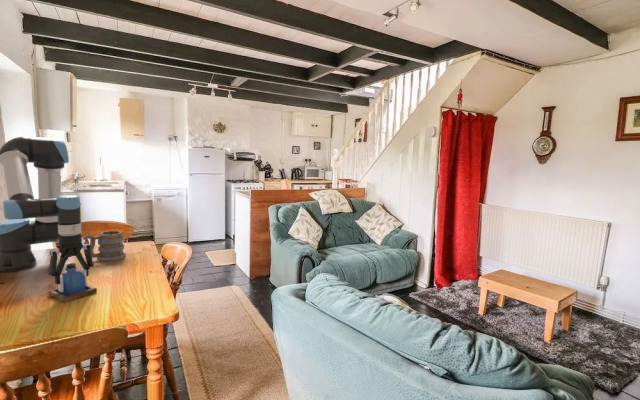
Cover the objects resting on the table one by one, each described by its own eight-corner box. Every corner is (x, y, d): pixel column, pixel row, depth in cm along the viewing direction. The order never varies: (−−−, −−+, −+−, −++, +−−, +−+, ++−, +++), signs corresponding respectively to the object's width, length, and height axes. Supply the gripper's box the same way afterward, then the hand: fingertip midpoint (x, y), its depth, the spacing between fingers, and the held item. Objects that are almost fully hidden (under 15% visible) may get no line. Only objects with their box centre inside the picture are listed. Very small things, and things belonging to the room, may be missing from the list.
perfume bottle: (71, 296, 133) (69, 267, 132) (59, 294, 135) (57, 266, 133) (85, 290, 139) (83, 262, 138) (74, 288, 141) (72, 261, 139)
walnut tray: (48, 295, 135) (48, 290, 134) (81, 285, 145) (81, 281, 145) (64, 302, 129) (63, 298, 129) (96, 292, 140) (96, 287, 139)
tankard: (118, 252, 193) (118, 227, 191) (129, 257, 186) (128, 231, 184) (78, 260, 177) (77, 232, 175) (88, 265, 170) (86, 237, 168)
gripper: (43, 240, 123) (47, 298, 126) (102, 230, 141) (104, 281, 144) (34, 237, 126) (37, 294, 130) (92, 228, 145) (94, 278, 148)
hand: (72, 287), depth 137 cm, fingers open, 8 cm apart
